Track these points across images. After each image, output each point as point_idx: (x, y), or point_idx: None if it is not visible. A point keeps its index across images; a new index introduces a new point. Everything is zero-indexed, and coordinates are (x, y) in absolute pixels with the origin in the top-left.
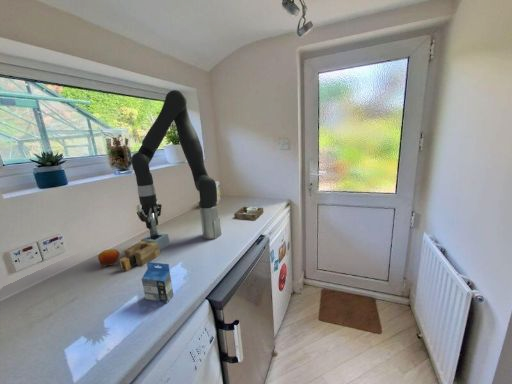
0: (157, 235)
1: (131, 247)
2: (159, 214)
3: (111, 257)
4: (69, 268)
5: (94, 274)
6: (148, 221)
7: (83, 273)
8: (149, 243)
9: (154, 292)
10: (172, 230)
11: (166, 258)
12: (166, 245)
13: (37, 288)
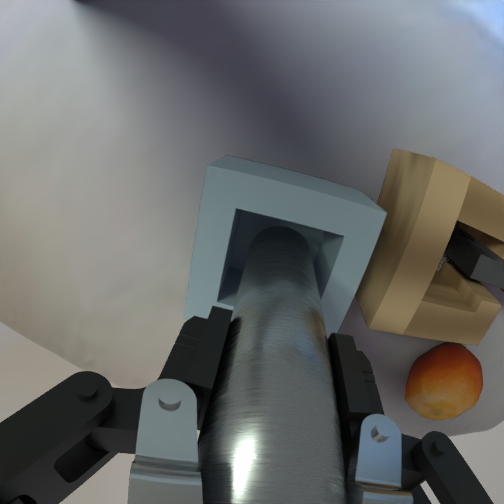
0: (281, 246)
1: (458, 330)
2: (86, 398)
3: (478, 362)
4: None
5: (486, 354)
6: (395, 426)
7: None
8: (434, 236)
9: None
10: (52, 254)
11: (434, 84)
12: (260, 163)
13: (484, 418)
